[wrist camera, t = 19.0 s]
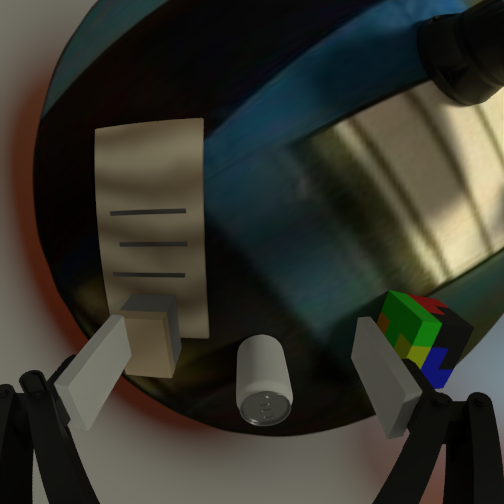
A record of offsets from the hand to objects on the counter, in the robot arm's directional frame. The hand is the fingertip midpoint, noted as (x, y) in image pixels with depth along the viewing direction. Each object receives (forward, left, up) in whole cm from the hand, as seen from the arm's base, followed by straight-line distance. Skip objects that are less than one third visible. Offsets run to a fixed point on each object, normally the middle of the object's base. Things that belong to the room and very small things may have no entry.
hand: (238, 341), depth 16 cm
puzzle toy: (+13, +24, -23) cm, 36 cm away
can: (+16, +2, -23) cm, 27 cm away
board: (-1, -12, -22) cm, 25 cm away
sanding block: (+10, -11, -21) cm, 26 cm away
